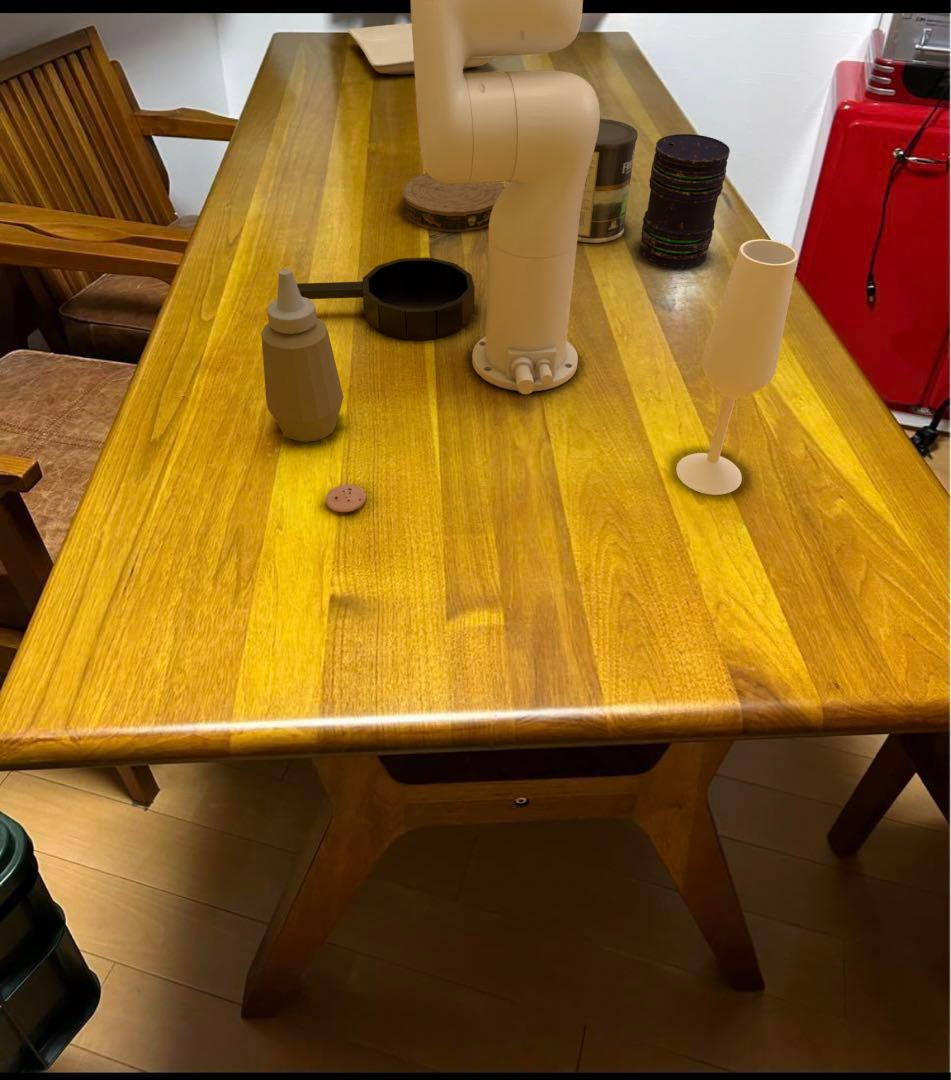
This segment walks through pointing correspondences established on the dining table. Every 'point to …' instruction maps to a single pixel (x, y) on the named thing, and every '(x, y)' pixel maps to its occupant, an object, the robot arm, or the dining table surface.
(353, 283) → the frying pan
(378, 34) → the square plate
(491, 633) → the dining table surface
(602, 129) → the coffee can
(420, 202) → the brown flat disc
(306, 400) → the squeeze bottle
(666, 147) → the dark brown cylinder
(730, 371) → the champagne flute
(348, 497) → the cookie
